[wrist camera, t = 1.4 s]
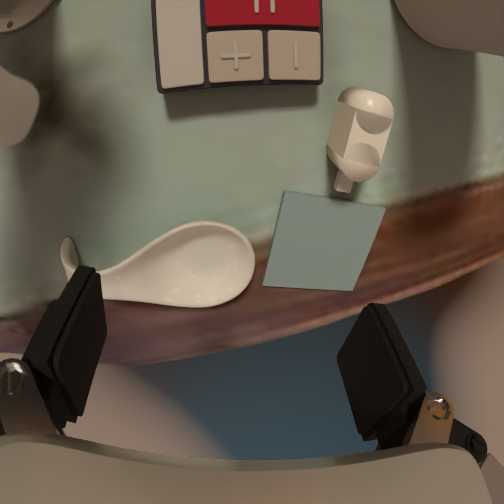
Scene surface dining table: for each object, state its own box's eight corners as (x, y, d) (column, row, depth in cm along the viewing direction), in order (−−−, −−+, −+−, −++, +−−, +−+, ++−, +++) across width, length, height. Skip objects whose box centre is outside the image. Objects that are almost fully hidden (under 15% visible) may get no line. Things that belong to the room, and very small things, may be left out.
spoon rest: (254, 205, 35) (262, 239, 29) (250, 286, 42) (256, 326, 36) (59, 212, 33) (33, 244, 27) (81, 287, 40) (65, 324, 34)
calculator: (326, 86, 25) (156, 95, 24) (311, 82, 29) (162, 91, 27) (324, -23, 19) (148, -19, 17) (309, -14, 22) (155, -9, 21)
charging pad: (283, 190, 34) (284, 192, 34) (383, 206, 37) (385, 208, 36) (261, 282, 41) (262, 285, 41) (350, 288, 44) (352, 290, 43)
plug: (341, 82, 28) (361, 87, 24) (375, 93, 29) (398, 100, 24) (317, 178, 34) (332, 197, 30) (349, 184, 35) (367, 203, 30)
